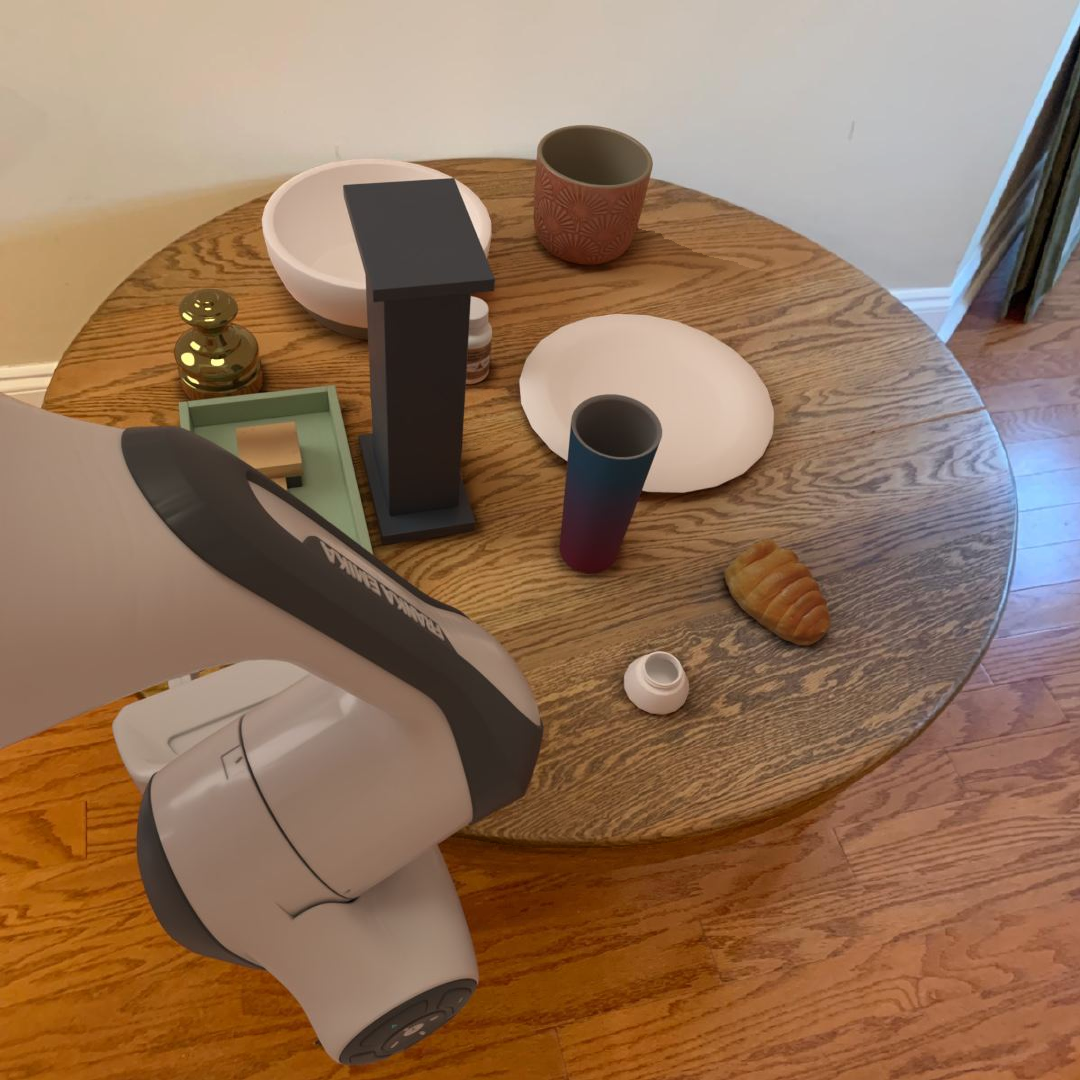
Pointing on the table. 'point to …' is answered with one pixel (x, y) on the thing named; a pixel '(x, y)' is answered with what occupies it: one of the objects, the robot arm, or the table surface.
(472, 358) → the pill bottle
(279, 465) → the brush
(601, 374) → the plate
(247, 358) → the brass bell weight
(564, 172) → the planter
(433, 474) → the stand
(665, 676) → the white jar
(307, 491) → the tray
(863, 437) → the table surface
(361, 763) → the robot arm
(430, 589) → the table surface
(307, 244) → the bowl
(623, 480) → the cup
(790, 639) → the pastry
